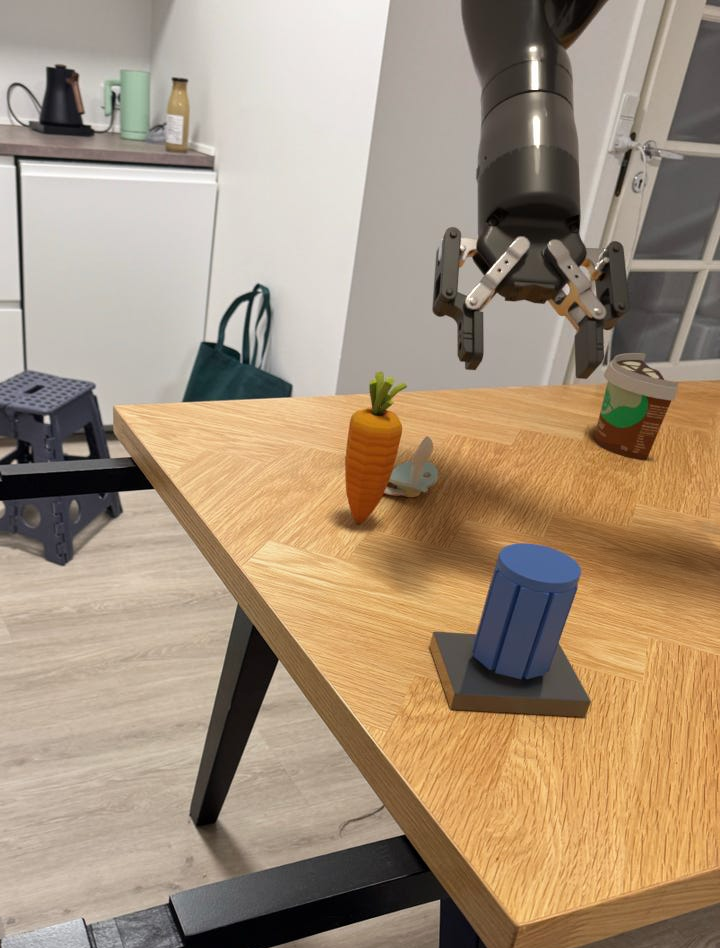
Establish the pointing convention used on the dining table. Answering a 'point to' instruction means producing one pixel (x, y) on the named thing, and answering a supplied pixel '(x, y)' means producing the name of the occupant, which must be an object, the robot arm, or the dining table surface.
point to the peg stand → (504, 682)
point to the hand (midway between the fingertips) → (530, 369)
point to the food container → (633, 406)
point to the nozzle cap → (526, 610)
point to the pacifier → (414, 473)
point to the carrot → (372, 448)
